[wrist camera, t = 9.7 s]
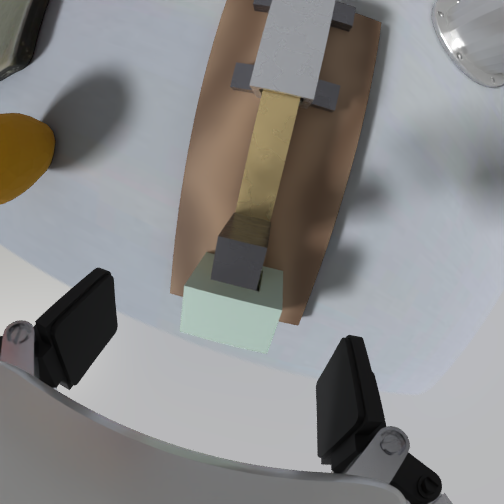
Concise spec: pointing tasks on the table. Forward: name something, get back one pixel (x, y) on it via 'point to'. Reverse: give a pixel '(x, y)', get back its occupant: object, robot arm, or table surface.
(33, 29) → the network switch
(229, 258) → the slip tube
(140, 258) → the table surface
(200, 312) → the socket
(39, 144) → the apple
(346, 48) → the base board
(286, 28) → the sleeve
